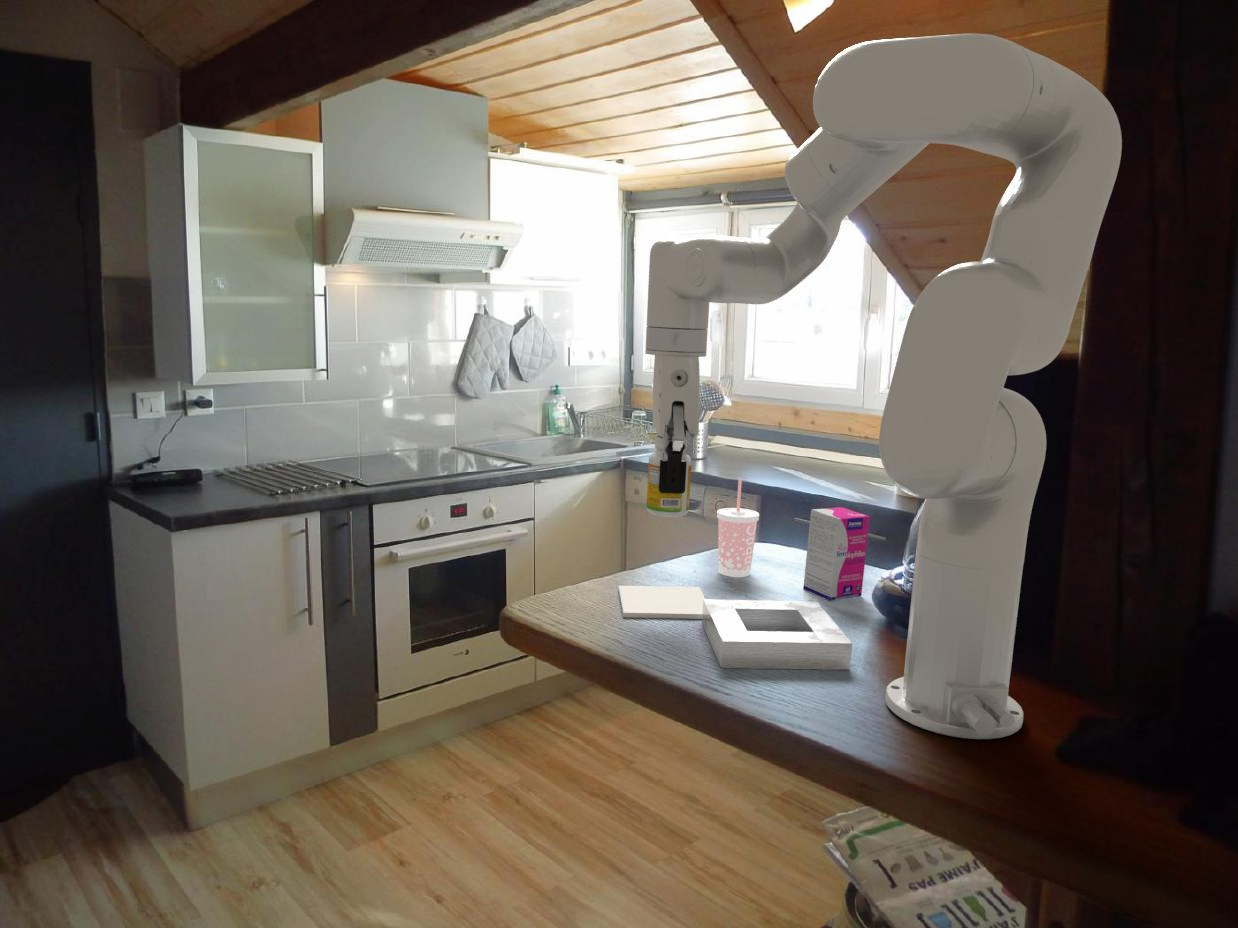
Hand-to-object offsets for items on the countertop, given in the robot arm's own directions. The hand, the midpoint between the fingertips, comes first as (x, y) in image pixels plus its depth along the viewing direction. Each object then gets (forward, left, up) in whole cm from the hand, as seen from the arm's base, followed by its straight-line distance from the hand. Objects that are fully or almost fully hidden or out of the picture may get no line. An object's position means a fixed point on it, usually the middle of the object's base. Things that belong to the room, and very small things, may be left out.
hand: (668, 486), depth 115 cm
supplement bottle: (0, 0, -4) cm, 4 cm away
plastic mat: (0, 0, -15) cm, 15 cm away
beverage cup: (+15, -12, -16) cm, 25 cm away
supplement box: (+6, -24, -16) cm, 29 cm away
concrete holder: (-14, -11, -15) cm, 24 cm away
